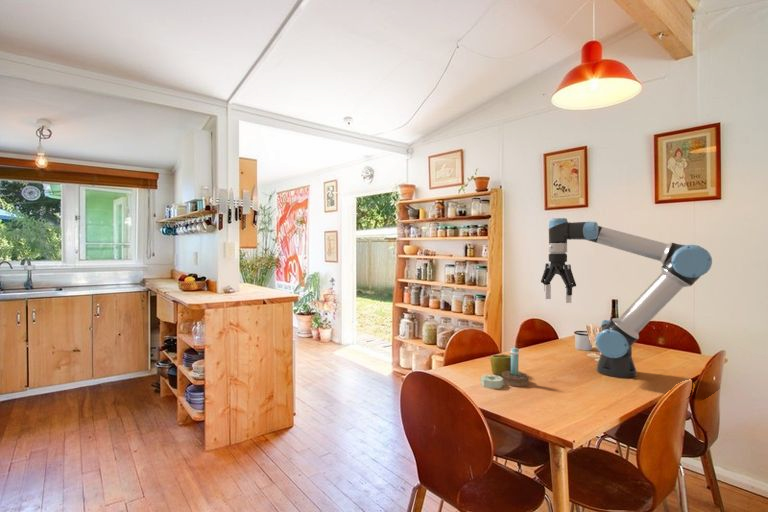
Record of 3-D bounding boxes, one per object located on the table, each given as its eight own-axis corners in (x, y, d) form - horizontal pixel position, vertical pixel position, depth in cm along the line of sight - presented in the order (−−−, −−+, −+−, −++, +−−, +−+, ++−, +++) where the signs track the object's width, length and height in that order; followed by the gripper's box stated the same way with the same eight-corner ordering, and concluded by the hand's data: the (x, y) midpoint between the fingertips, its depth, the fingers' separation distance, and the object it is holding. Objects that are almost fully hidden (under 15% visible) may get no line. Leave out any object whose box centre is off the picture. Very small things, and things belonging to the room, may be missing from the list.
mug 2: (587, 352, 214) (587, 335, 214) (570, 348, 222) (570, 332, 222) (598, 348, 221) (599, 332, 221) (581, 345, 229) (582, 329, 229)
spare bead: (497, 381, 168) (497, 374, 167) (505, 388, 160) (505, 380, 160) (478, 382, 167) (478, 375, 166) (486, 389, 159) (486, 381, 159)
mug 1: (518, 374, 170) (510, 351, 173) (494, 380, 173) (487, 357, 175) (517, 371, 182) (509, 349, 185) (494, 377, 184) (487, 355, 187)
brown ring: (526, 379, 170) (526, 371, 170) (528, 387, 160) (528, 379, 160) (501, 377, 173) (501, 370, 173) (502, 385, 163) (502, 377, 163)
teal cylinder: (518, 381, 168) (518, 347, 167) (518, 383, 165) (518, 349, 164) (510, 380, 168) (510, 347, 168) (510, 383, 165) (510, 349, 165)
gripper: (533, 252, 191) (533, 297, 191) (570, 253, 167) (569, 304, 167) (547, 252, 193) (546, 297, 193) (585, 253, 169) (585, 304, 169)
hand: (557, 300), depth 180 cm, fingers open, 13 cm apart
